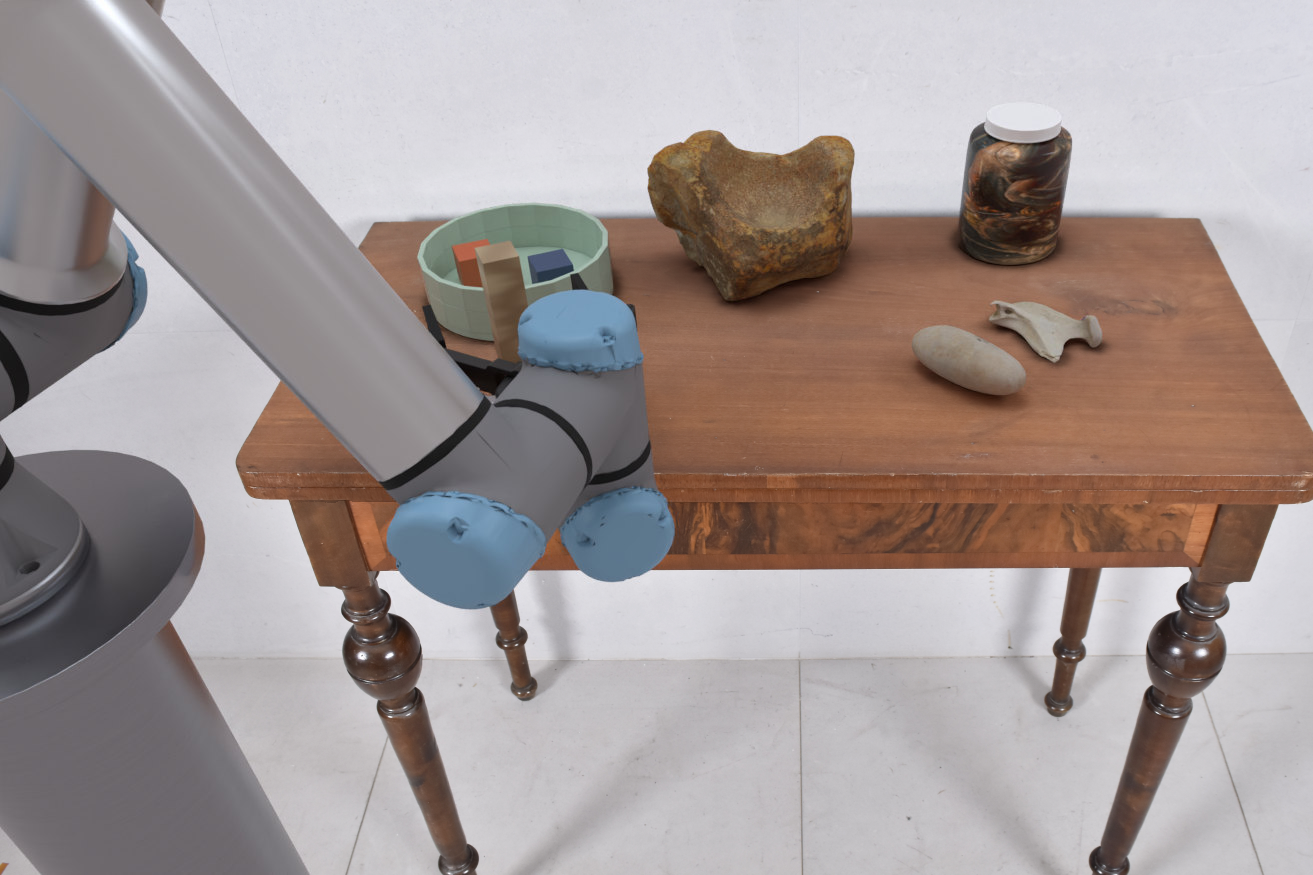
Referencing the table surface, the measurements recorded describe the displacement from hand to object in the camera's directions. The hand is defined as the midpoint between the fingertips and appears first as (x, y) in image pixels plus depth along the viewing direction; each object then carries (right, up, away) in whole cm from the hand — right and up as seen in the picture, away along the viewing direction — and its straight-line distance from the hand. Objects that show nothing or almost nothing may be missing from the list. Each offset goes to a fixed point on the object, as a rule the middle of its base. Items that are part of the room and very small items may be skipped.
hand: (504, 302), depth 98 cm
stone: (+44, -7, +6) cm, 45 cm away
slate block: (+1, +5, +19) cm, 20 cm away
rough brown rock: (+23, +7, +23) cm, 33 cm away
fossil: (+53, -1, +13) cm, 55 cm away
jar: (+53, +12, +28) cm, 61 cm away
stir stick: (+1, -9, +5) cm, 10 cm away
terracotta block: (-8, +6, +21) cm, 24 cm away
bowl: (-3, +5, +21) cm, 22 cm away
